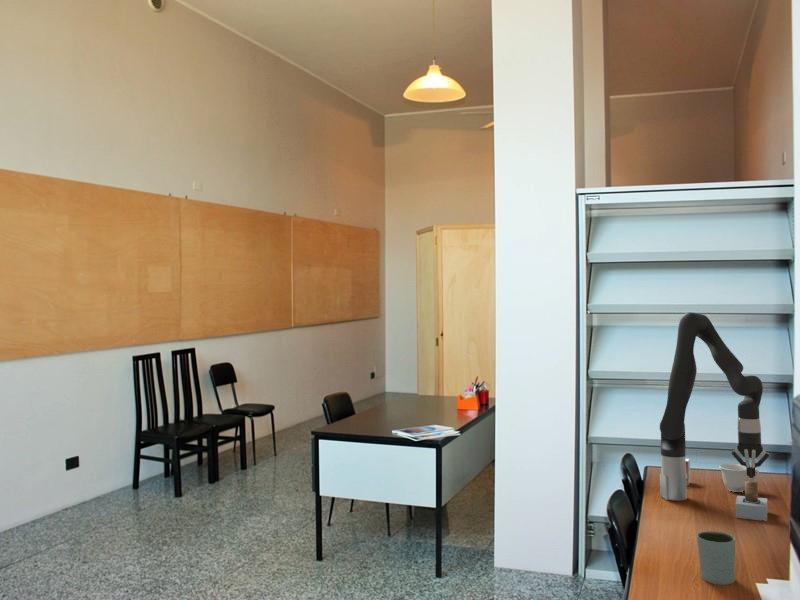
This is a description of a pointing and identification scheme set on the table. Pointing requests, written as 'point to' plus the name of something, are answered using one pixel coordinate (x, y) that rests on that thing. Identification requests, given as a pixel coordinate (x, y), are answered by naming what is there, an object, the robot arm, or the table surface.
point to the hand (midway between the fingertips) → (751, 477)
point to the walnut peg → (751, 492)
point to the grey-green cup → (717, 557)
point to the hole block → (751, 509)
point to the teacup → (735, 476)
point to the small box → (687, 471)
